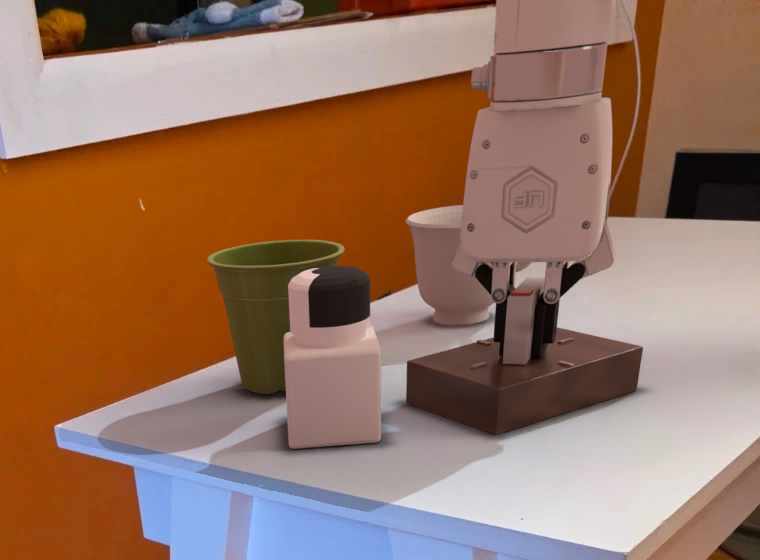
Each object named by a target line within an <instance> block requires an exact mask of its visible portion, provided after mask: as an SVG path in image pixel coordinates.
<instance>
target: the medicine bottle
mask: <svg viewBox="0 0 760 560" xmlns="http://www.w3.org/2000/svg"><path fill="white" fill-rule="evenodd" d="M288 294H289V315H290V332H287V333H286V334H285V335H284V365H285V384H286V391H285V401H286V418H287V419H286V420H287V439H288V440H287V441H288V447H289V448H290V449H291V450H297V449H309V448H311V449H312V448H323V447H324V448H325V447H337V446H349V445H351V446H352V445H363V444H375V443H380V441H381V439H382V349H381V346H380V343H379V340H378V337H377V334H376V332H375V331H376V330H375V328H374V327H373V326H372V325H371V277H370V275H368V273H367V272H366V271H364V270H363V269H360V268H358V267H354V266H350V265H337V266H327V267H319V268H314V269H309V270H306V271H303V272H301V273H300V274H298V275H296V276H295V277H293V278H292V279H291V281H290V282H289V284H288Z"/></svg>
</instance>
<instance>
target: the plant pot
mask: <svg viewBox="0 0 760 560" xmlns="http://www.w3.org/2000/svg"><path fill="white" fill-rule="evenodd" d="M345 250H346V248H345V247H344V245H342V244H341V243H338V242H334V241H329V240H320V239H286V240H284V239H283V240H272V241H261V242H254V243H248V244H242V245H238V246H232V247H229V248H224V249H221V250H219V251H218V250H217V251H216V252H213V253H212V254H210V255H209V256H208V257H207V259H206V261H207V264H208V265H210V266H211V267H212V268H213V270H214V272H215V277H216V281H217V286H218V287H217V288H218V291H219V293H220V294H221V296H222V299H223V303H224V308H225V313H226V317H227V322H228V326H229V331H230V336H231V341H232V345H233V350H234V354H235V358H236V364H237V368H238V373H239V377H240V381H241V385H242V387H243V388H244V389H245V390H247V391H249V392H253V393H258V394H260V395H272V394H274V393H276V392H278V391H283V392H286V384H285V365H284V335H285V334H286V333H287V332H290V315H289V294H288V284H289V282H290V281H291V279H292V278H293V277H295V276H296V275H298V274H300V273H301V272H303V271H306V270H309V269H314V268H319V267H327V266H339V259H340V257H342V256H343V255H344V253H345Z"/></svg>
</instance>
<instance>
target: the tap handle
mask: <svg viewBox="0 0 760 560" xmlns="http://www.w3.org/2000/svg"><path fill="white" fill-rule="evenodd" d="M544 283H545V277H526V278H524V280H523V281H521V282H520V284H519V285H518V286H516V287H515V290H513V291H512V292H511V293H510V295H509V296H508V299H507V312H506V325H505V339H504V352H503V364H517V365H526V363H527V362H528V361H529V359H530V358H531V357H532V355H531V349H532V338H533V327H534V317H535V307H536V305H537V304H538V303H539V301H540V296H541V294H542V293H543V292H544Z"/></svg>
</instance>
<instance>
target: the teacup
mask: <svg viewBox="0 0 760 560" xmlns="http://www.w3.org/2000/svg"><path fill="white" fill-rule="evenodd" d="M462 211H463V204H459V205H458V204H457V205H449V206H442V207H435V208H430V209H425V210H421V211H418V212H415V213H412V214H410V215H408V217H407V218H406V219H405V220H404V221H405V224H407V226H408V227H409V229H410V232H411V235H412V236H411V237H412V243H413V250H414V261H415V270H416V271H415V274H416V281H417V288H418V292H419V296H420V297H421V299H422V300H423V302H424V303H425V304H426V305H428V306H429V307H431V308H433V309H434V315H433V321H434V322H435V323H437V324H440V325H444V326H445V325H446V326H468V325H469V326H470V325H474V324H475V325H476V324H479V323H483V322H485V321H487V320H488V319H489V317H490V314H489V307H490V306H492V305H493V304H496V303H495V302H493V301H492V298H491V295H490V294H489V293H488V291H487V290H486V289H485V288H484V287H483V286H482V285H481V283H480V282H479V281H478V280H477V279H476V278H475V277H473V276H469V275H467V274H465V273H463V272H460V271H458V270H456V269H454V268H453V267H452V265H451V261H452V258H453V256H454V254H455V251H456V249H457V246H458V244H459V242H460V236H461V221H462ZM532 263H533V262H516V273H519V272H522V271H523V270H525V269H527V268H528V267H529V266H530V265H531V264H532Z"/></svg>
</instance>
